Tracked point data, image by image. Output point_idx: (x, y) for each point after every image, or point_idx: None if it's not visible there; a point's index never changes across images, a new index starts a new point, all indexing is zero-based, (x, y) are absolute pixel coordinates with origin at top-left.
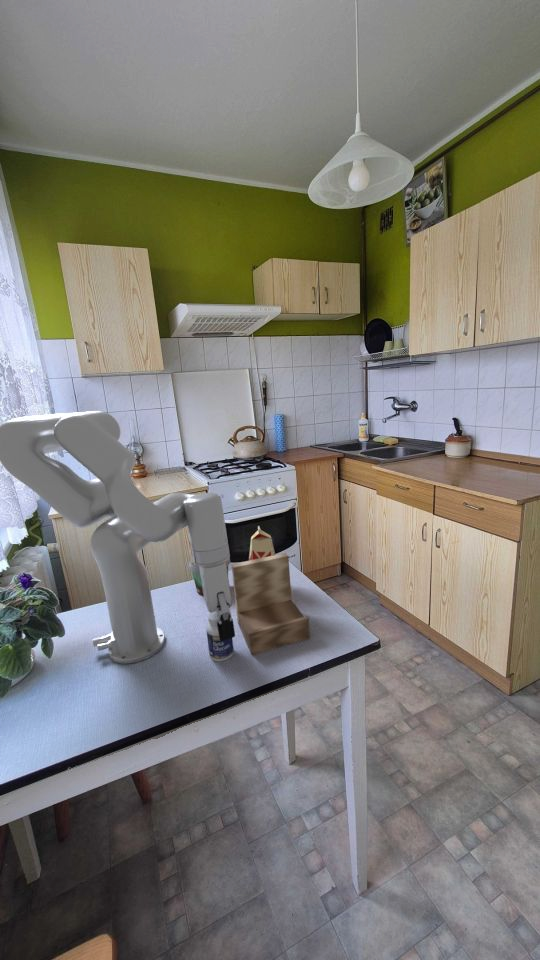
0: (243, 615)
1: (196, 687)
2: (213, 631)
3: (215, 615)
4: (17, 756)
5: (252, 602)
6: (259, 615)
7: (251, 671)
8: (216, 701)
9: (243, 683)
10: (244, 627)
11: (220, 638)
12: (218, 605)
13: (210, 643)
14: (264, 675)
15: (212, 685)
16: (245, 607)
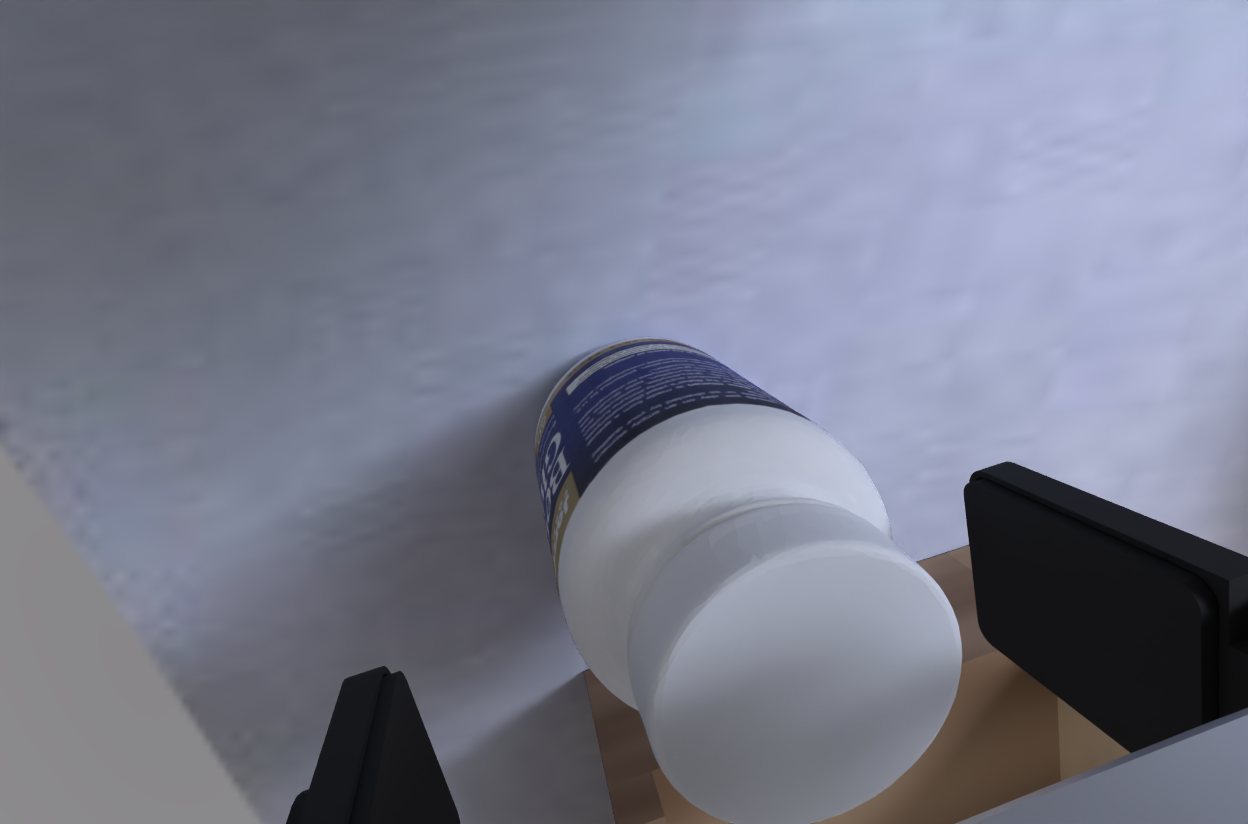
0: (995, 684)
1: (210, 254)
2: (593, 546)
3: (801, 672)
4: None
5: None
6: (944, 820)
7: None
8: (24, 456)
9: (249, 645)
10: None
11: (347, 699)
12: (1098, 652)
13: (590, 417)
14: None
15: (233, 400)
16: (1090, 724)
